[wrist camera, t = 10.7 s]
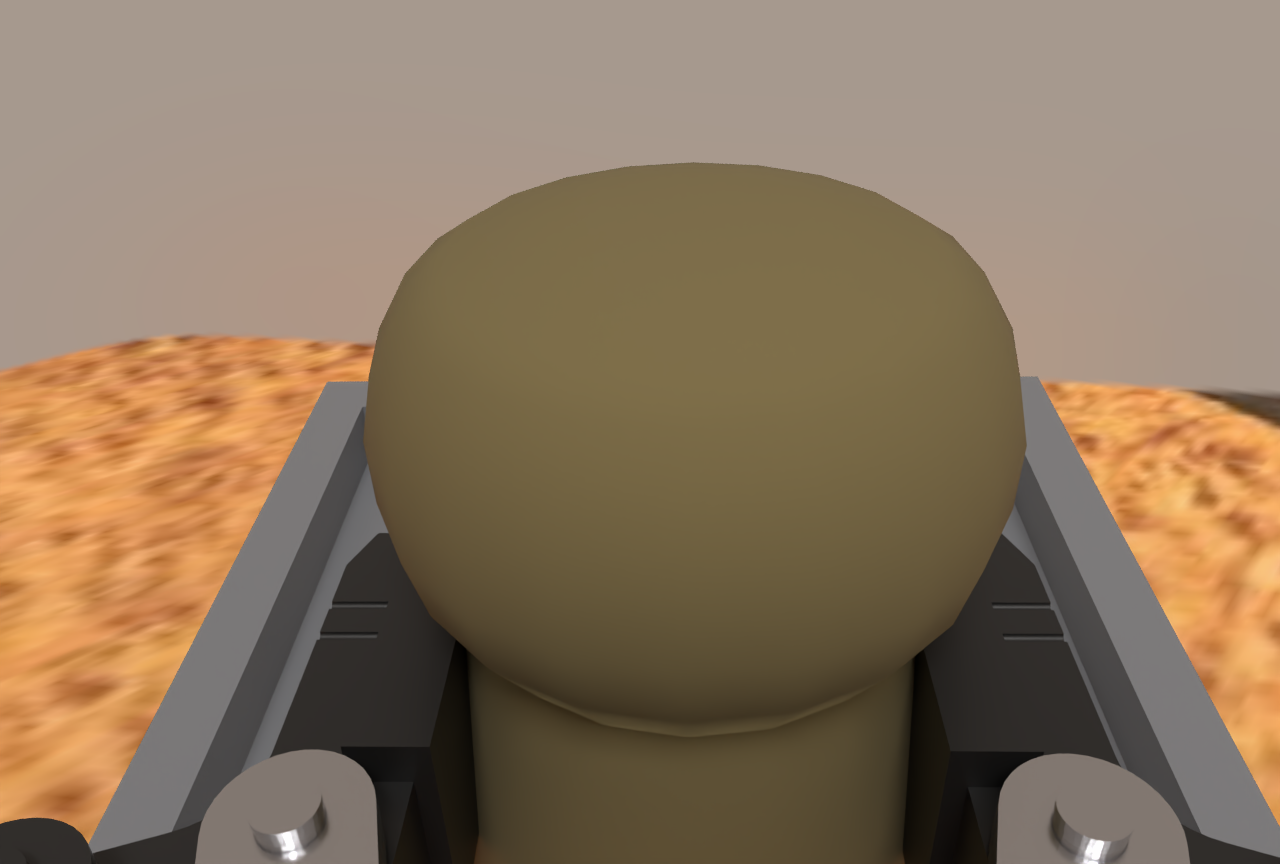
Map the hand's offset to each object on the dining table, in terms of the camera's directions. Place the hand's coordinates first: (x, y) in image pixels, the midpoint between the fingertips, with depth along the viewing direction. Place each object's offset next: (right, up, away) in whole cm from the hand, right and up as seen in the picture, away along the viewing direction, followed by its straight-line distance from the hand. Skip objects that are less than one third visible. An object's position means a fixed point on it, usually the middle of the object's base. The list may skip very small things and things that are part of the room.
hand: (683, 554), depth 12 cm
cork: (0, -7, +2) cm, 7 cm away
